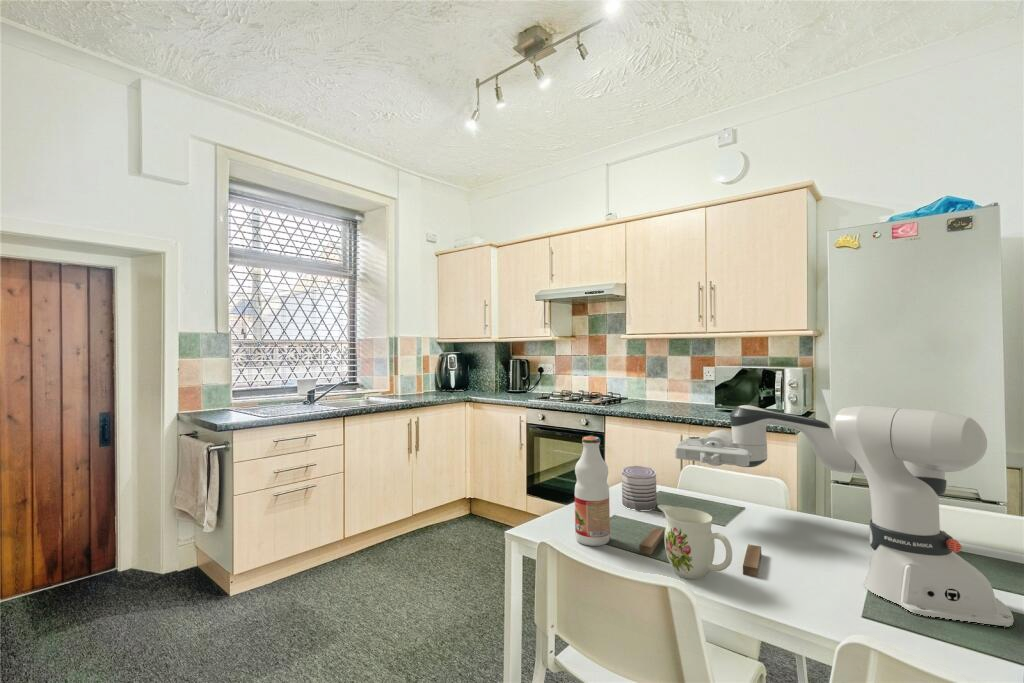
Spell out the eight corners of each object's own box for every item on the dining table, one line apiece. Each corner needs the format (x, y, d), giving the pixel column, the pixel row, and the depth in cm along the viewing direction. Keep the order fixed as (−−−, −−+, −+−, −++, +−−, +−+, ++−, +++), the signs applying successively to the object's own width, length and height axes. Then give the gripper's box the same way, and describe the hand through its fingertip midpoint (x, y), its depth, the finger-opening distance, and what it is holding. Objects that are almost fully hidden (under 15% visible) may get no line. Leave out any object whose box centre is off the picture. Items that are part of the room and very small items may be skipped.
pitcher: (720, 597, 99) (718, 530, 99) (646, 567, 113) (645, 509, 113) (743, 580, 106) (742, 518, 106) (671, 554, 120) (670, 500, 120)
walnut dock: (761, 554, 120) (761, 546, 120) (757, 577, 108) (757, 568, 108) (653, 534, 133) (653, 527, 133) (639, 552, 121) (639, 544, 121)
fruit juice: (604, 549, 124) (602, 441, 124) (570, 543, 128) (569, 439, 129) (614, 536, 132) (612, 436, 133) (581, 531, 136) (580, 433, 137)
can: (659, 503, 161) (658, 467, 162) (654, 513, 151) (654, 475, 151) (625, 499, 166) (624, 464, 166) (618, 509, 156) (618, 472, 156)
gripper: (753, 464, 139) (748, 476, 127) (680, 456, 150) (670, 467, 138) (752, 443, 139) (748, 453, 127) (680, 436, 150) (670, 445, 138)
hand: (707, 460), depth 133 cm, fingers closed
